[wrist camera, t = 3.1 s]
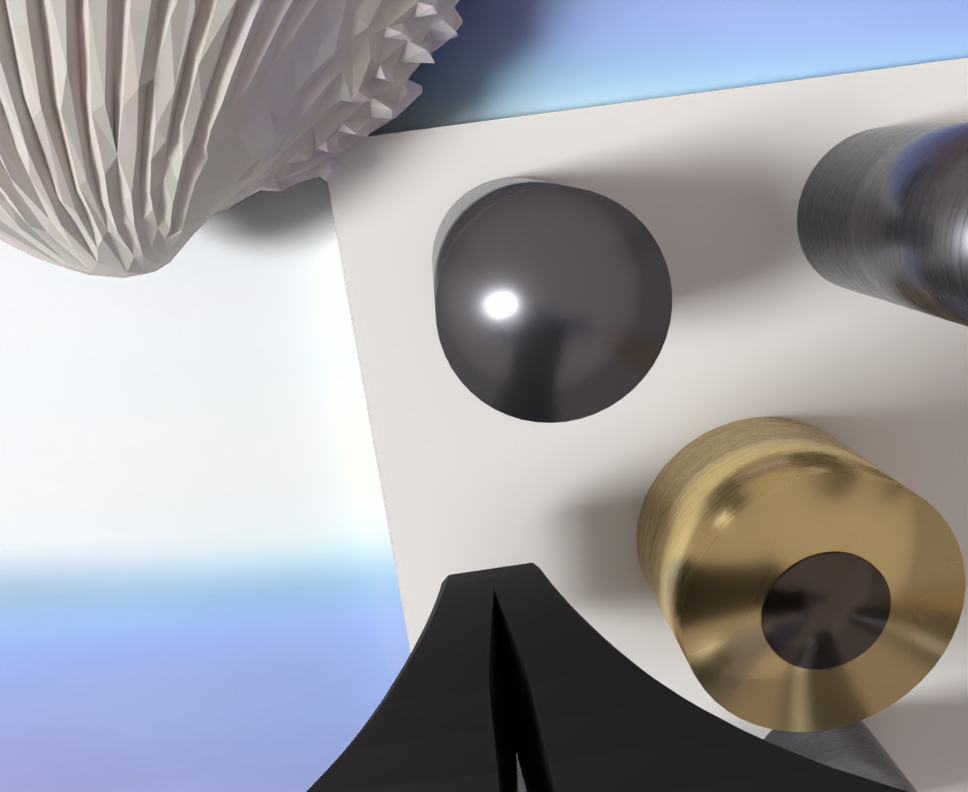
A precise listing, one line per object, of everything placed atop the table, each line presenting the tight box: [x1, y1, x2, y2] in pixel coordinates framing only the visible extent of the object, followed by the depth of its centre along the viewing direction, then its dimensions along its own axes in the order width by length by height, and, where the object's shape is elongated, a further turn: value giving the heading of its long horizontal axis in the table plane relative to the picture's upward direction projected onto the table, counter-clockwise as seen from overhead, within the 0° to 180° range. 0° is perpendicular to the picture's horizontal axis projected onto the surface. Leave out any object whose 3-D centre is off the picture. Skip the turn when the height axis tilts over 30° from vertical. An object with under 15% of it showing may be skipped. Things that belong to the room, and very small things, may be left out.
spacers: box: [432, 122, 968, 792], centre depth 12 cm, size 12×14×4 cm
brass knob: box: [636, 417, 965, 732], centre depth 12 cm, size 4×4×3 cm
